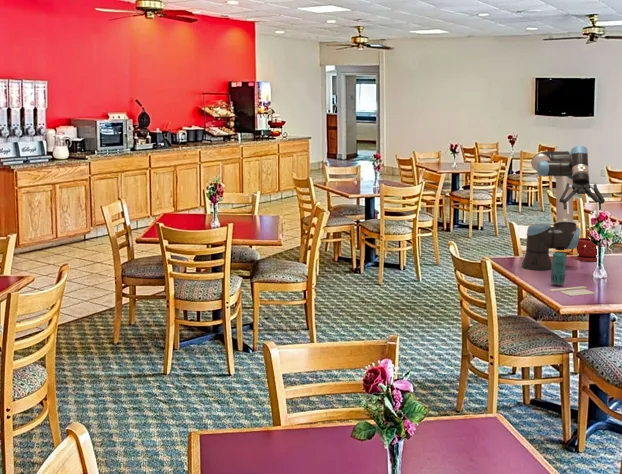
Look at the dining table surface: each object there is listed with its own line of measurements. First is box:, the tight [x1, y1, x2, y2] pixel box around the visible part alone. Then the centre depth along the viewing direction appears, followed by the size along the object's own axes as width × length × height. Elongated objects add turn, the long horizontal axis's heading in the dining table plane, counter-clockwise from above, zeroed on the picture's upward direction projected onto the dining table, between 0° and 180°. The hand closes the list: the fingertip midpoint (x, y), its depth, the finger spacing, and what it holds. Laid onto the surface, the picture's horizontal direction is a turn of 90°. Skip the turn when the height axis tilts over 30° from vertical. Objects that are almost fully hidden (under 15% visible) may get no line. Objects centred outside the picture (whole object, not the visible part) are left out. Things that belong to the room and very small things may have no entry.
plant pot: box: [576, 237, 598, 263], centre depth 443 cm, size 13×13×12 cm
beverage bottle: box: [550, 245, 567, 285], centre depth 383 cm, size 6×7×20 cm
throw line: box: [548, 285, 588, 293], centre depth 377 cm, size 2×20×1 cm, turn 110°
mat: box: [559, 288, 597, 297], centre depth 371 cm, size 8×14×1 cm, turn 110°
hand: (582, 215), depth 370 cm, fingers open, 13 cm apart
